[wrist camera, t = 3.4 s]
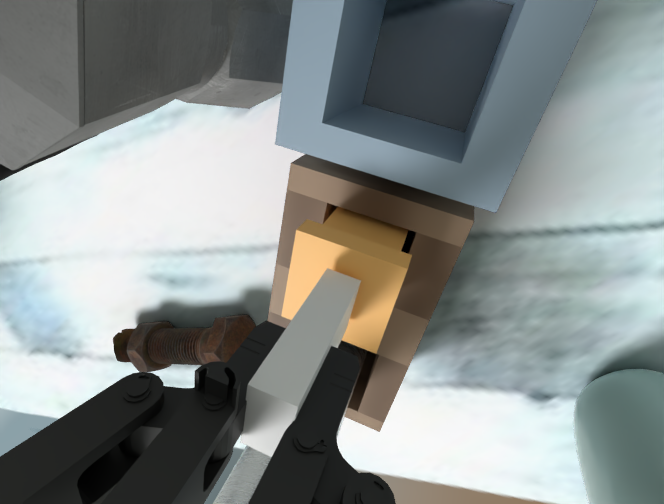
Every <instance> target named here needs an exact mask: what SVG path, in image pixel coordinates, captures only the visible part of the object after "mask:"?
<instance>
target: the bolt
mask: <svg viewBox="0 0 664 504" xmlns="http://www.w3.org/2000/svg"><path fill="white" fill-rule="evenodd" d="M255 327H256V325H255V323H254V322H253V320H252V319H251V318H250V316H249V315H233V316H227V317H220V318H215V320H214V323H213V326H212V327H210V328H209V327H208V328H174V327H173V326H172V325H171V324H170V322H168V321H160V322H150V323H143V324H138V326H137V327H136V328H135V329H124V330H122V333H120V332H119V333H118V334H117V335H115V337H114V338H113V343H114V353H115V355H116V359H117V361H120V362H132V364H133V365H134V366H135V367H136V369H137V370H138V371H139V372H151V371H156V370H161V369H164V368H167V367H169V366H171V364H183V365H184V364H188V365H204V364H206V363H209V362H216V361H221V362H225V363H226V362H227V361H228V360H229V359H230V357H231V356H232V355H233V354H234V352H235V351H236V350H237V349H238V348H239V347H240V345H241V344H242V343H243V341H244V340H245V339H246V338H247V336H248V335H249V334H250V333H251V331H252V330H253V329H254V328H255Z"/></svg>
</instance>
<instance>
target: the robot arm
mask: <svg viewBox="0 0 664 504" xmlns="http://www.w3.org/2000/svg"><path fill="white" fill-rule="evenodd" d="M360 283H361V280H358V279H355V278H353V277H350V276H347V275H344V274H342V273H339V272H336V271H333V270H331V269H328V268H327V269H326V271H325V272H324V274H323V275H322V277H321V278H320V280H319V281H318V283H317V284H316V285H315V287H314V288H313V290H312V291H311V293H310V294H309V296H308V297H307V299H306V300H305V302H304V303H303V304H302V306H301V307H300V309H299V310H298V312H297V313H296V315H295V316H294V318H293V319H292V321H291V322H290V323H289V325H288V326H287V328H284V327H281V326H279V325H276V324H274V323H272V322H269V321H265V322H263V323H262V324H260V325H258V326H256V327H255V328H254V329H253V330H252V331H251V333H250V334H249V335H248V336H247V338H246V339H245V340H244V341H243V343H242V344H241V345H240V347H239V348H238V349H237V350H236V351H235V352H234V354H233V355H232V356H231V357H230V359H229V360H228V361H227V362H226V363H225V362H221V361H216V362H209V363H206V364H204V365H202V366H200V367H199V368H198V369H197V370H195V388H176V387H167V386H163V382H162V380H161V379H160V378H159V377H158V376H156V375H155V374H153V373H147V372H139V373H133V374H131V375H129V376H126V377H124V378H122V379H121V380H119V381H118V382H116V383H115V384H113V385H111V386H110V387H108V388H107V389H105V390H104V391H102V392H100V393H99V394H97V395H96V396H94V397H93V398H91V399H90V400H88V401H86V402H85V403H83V404H82V405H80V406H79V407H77V408H75V409H74V410H72V411H71V412H69V413H68V414H66V415H65V416H63V417H61V418H60V419H58V420H57V421H55V422H54V423H52V424H50V425H49V426H47V427H46V428H44V429H43V430H41V431H40V432H38V433H36V434H35V435H33V436H32V437H30V438H29V439H27V440H26V441H24V442H23V443H21V444H19V445H18V446H16V447H15V448H13V449H11V450H10V451H9V452H7V453H5V454H4V455H2V456H1V457H0V504H204V502H205V501H206V499H207V497H208V496H209V494H210V492H211V490H212V489H213V487H214V486H215V484H216V482H217V481H218V479H219V477H220V476H221V474H222V472H223V471H224V469H225V467H226V466H227V464H228V462H229V460H230V458H231V455H232V452H233V446H234V445H235V443H236V441H237V440H238V438H239V436H240V435H241V440H240V442H241V443H243V444H245V445H247V446H249V447H251V448H253V449H255V450H258V451H260V452H262V453H264V454H266V455H268V456H270V457H271V459H270V461H269V463H268V465H267V467H266V469H265V471H264V473H263V475H262V477H261V479H260V481H259V483H258V485H257V487H256V489H255V491H254V493H253V495H252V497H251V499H250V501H249V503H248V504H396V503H395V499H394V495H393V493H392V491H391V489H390V487H389V486H388V484H387V483H386V482H385V481H384V480H382V479H381V478H380V477H379V476H376V475H374V474H372V473H358V472H357V471H356V470H355V469H354V468H353V467H352V466H350V465H349V464H348V463H347V462H346V460H345V459H344V458H343V457H342V455H341V453H340V451H339V449H338V446H337V439H336V436H337V431H338V429H339V426H340V423H341V420H342V418H343V415H344V412H345V409H346V407H347V404H348V401H349V398H350V396H351V393H352V390H353V387H354V384H355V381H356V379H357V376H358V373H359V370H360V368H359V360H358V356H355V355H353V354H350V353H348V352H345V351H343V350H340V349H338V346H339V344H340V342H341V340H342V338H343V336H344V334H345V331H346V329H347V326H348V323H349V319H350V316H351V313H352V309H353V306H354V303H355V299H356V296H357V293H358V289H359V286H360Z"/></svg>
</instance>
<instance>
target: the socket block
mask: <svg viewBox="0 0 664 504" xmlns="http://www.w3.org/2000/svg"><path fill="white" fill-rule="evenodd" d="M337 207H341V208H344V209H347V210H350V211H353V212H357V213H360V214H363V215H366V216H369V217H372V218H375V219H378V220H381V221H384V222H387V223H390V224H393V225H396V226H399V227H402V228H405V229H408V230H411V231H414V232H415V234H414V236H413V239H412V242H411V245H410V247H409V250H408V253H407V254H410V255H412V257H411V260H410V264H409V267H408V270H407V273H406V275H405V278H404V281H403V283H402V286H401V289H400V291H399V294H398V297H397V299H396V302H395V305H394V307H393V310H392V313H391V315H390V318H389V321H388V323H387V326H386V329H385V332H384V334H383V337H382V340H381V342H380V345H379V348H378V350H377V353H376V354H375V353H373V352H370V351H368V352H367V355H366V357H365V360H364V363H363V366H362V369H361V371H360V374H359V377H358V380H357V383H356V385H355V388H354V391H353V394H352V397H351V400H350V402H349V405H348V408H347V411H346V414H345V416H344V417H347V418H349V419H351V420H354V421H356V422H358V423H360V424H363V425H365V426H367V427H370V428H372V429H374V430H377V431H379V432H380V430H381V427H382V425H383V423H384V421H385V419H386V416H387V414H388V412H389V410H390V407H391V405H392V403H393V401H394V399H395V396H396V394H397V392H398V390H399V387H400V385H401V383H402V381H403V379H404V376H405V374H406V372H407V370H408V367H409V365H410V363H411V361H412V359H413V356H414V354H415V352H416V350H417V347H418V345H419V343H420V341H421V338H422V336H423V334H424V332H425V330H426V327H427V325H428V323H429V321H430V318H431V316H432V314H433V312H434V310H435V307H436V305H437V303H438V301H439V298H440V296H441V294H442V292H443V290H444V287H445V285H446V283H447V281H448V278H449V276H450V274H451V272H452V270H453V267H454V265H455V263H456V261H457V258H458V256H459V254H460V252H461V249H462V247H463V245H464V243H465V241H466V238H467V236H468V234H469V232H470V229H471V227H472V225H473V223H474V206H472V205H469V204H466V203H462V202H459V201H456V200H453V199H449V198H446V197H443V196H440V195H437V194H433V193H430V192H427V191H424V190H421V189H417V188H414V187H411V186H408V185H404V184H401V183H398V182H395V181H392V180H388V179H385V178H382V177H379V176H375V175H372V174H369V173H366V172H363V171H359V170H356V169H353V168H350V167H346V166H343V165H340V164H337V163H334V162H330V161H327V160H324V159H321V158H317V157H314V156H311V155H308V154H305V155H304V156H302V157H300V158H299V159H297V160H295V161H294V162H292V163H291V166H290V173H289V180H288V186H287V193H286V200H285V206H284V213H283V220H282V226H281V233H280V240H279V246H278V253H277V260H276V266H275V273H274V280H273V287H272V293H271V300H270V307H269V313H268V320H267V321H269V322H272V323H274V324H276V325H279V326H281V327H284V328H287V326H288V325H289V323H290V322H291V321H292V320H290V319H287V318H285V317H282V316H281V315H282V309H283V303H284V297H285V292H286V286H287V280H288V274H289V269H290V263H291V257H292V251H293V246H294V240H295V234H296V230H297V229H298V228H299V227H300V226H301V225H302V224H303V223H304V222H305V221H306V220H307V219H308V220H311V221H314V222H317V223H320V224H323V223H324V222H325V221H326V220H327V219H328V218H329V216H330V215H331V214H332V213H333V212H334V211H335V210H336V208H337Z"/></svg>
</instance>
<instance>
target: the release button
mask: <svg viewBox="0 0 664 504" xmlns="http://www.w3.org/2000/svg"><path fill="white" fill-rule="evenodd" d="M408 231H409V230H408V229H405V228H402V227H399V226H396V225H393V224H390V223H387V222H384V221H381V220H378V219H375V218H372V217H369V216H366V215H363V214H360V213H357V212H353V211H350V210H347V209H344V208H341V207H337V208H336V210H335V211H334V212H333V213H332V214H331V215H330V216H329V218H328V219H327V220H326V221H325V222H324V223H323V224H320V223H317V222H314V221H311V220H308V219H307V220H306V221H305V222H304V223H303V224H302V225H301V226H300V227H299V228H298V229H297V230H296V234H295V240H294V246H293V251H292V257H291V263H290V269H289V274H288V280H287V286H286V292H285V297H284V303H283V309H282V315H281V316H282V317H285V318H287V319H290V320H292V319H293V318H294V316H295V315H296V313H297V312H298V310H299V309H300V307H301V306H302V304H303V303H304V302H305V300H306V299H307V297H308V296H309V294H310V293H311V291H312V290H313V288H314V287H315V285H316V284H317V283H318V281H319V280H320V278H321V277H322V275H323V274H324V272H325V271H326V269H327V268H328V269H331V270H333V271H336V272H339V273H342V274H344V275H347V276H350V277H353V278H355V279H358V280H361V283H360V286H359V289H358V293H357V296H356V299H355V303H354V306H353V309H352V313H351V316H350V319H349V323H348V326H347V329H346V331H345V334H344V336H343V338H342V341H345V342H347V343H350V344H352V345H355V346H357V347H360V348H363V349H365V350H368V351H370V352H373V353H375V354H376V353H377V350H378V348H379V345H380V342H381V340H382V337H383V334H384V332H385V329H386V326H387V323H388V321H389V318H390V315H391V313H392V310H393V307H394V305H395V302H396V299H397V297H398V294H399V291H400V289H401V286H402V283H403V281H404V278H405V275H406V273H407V270H408V267H409V264H410V260H411V257H412V255H410V254H407V253H405V252H402V248H403V245H404V242H405V240H406V237H407V234H408Z"/></svg>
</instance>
